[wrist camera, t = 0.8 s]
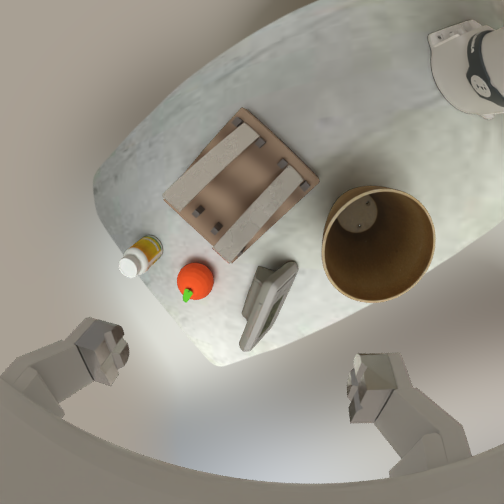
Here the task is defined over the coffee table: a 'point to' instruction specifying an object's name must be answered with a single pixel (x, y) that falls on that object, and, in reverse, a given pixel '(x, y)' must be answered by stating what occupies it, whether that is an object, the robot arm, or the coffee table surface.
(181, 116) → the coffee table surface
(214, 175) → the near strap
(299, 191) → the strap base
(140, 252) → the supplement bottle
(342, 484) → the robot arm
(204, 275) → the clementine
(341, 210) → the plant pot
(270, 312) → the digital clock
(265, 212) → the strap
